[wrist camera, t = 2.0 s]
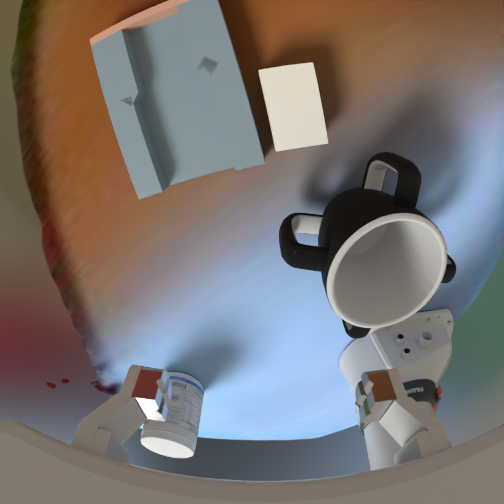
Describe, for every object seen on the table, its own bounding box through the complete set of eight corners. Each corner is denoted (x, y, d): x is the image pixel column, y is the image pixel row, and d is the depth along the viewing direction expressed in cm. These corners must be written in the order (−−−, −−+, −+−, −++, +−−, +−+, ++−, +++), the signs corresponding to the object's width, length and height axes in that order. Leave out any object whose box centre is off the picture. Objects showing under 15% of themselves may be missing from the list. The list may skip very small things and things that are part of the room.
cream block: (305, 68, 25) (312, 62, 21) (319, 138, 29) (328, 143, 25) (258, 75, 26) (258, 70, 22) (273, 145, 29) (276, 151, 25)
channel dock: (217, -4, 21) (212, -15, 18) (264, 157, 30) (264, 163, 27) (103, 42, 23) (89, 39, 20) (149, 190, 32) (138, 199, 29)
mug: (425, 244, 34) (470, 296, 24) (325, 297, 39) (343, 363, 28) (385, 133, 28) (443, 154, 17) (264, 199, 32) (266, 250, 22)
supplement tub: (177, 399, 54) (164, 459, 41) (147, 374, 50) (127, 437, 37) (214, 391, 51) (205, 457, 38) (185, 364, 47) (168, 436, 34)
